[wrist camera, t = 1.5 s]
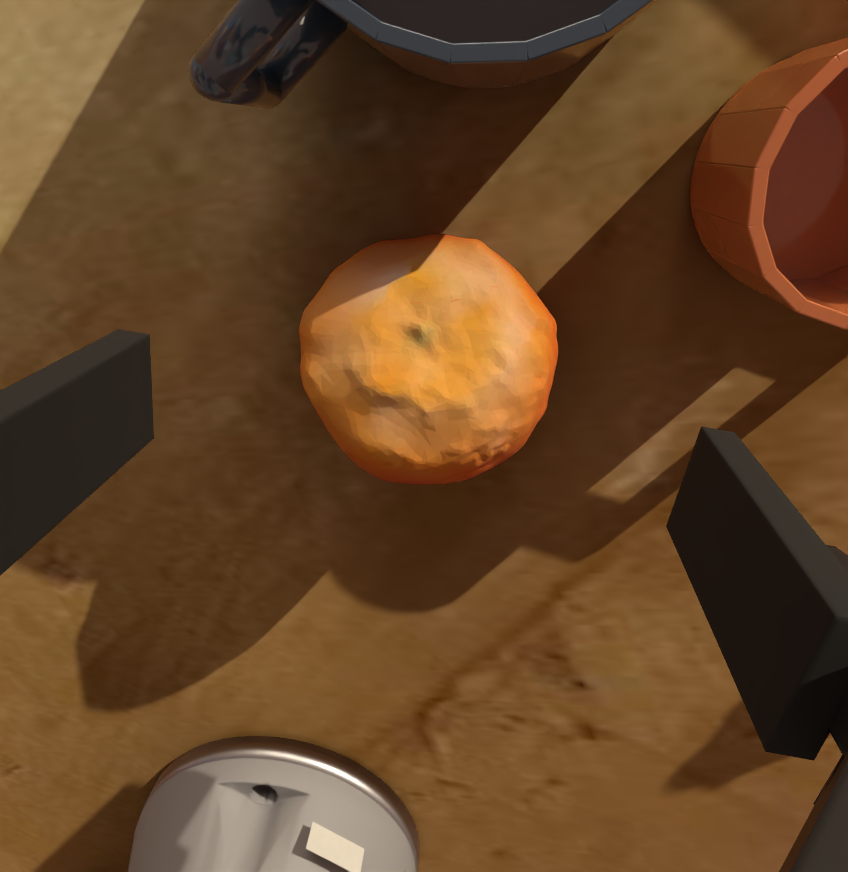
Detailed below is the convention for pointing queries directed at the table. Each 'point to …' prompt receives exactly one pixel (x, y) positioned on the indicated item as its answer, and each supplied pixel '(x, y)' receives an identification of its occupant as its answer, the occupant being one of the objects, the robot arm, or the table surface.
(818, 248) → the small cup
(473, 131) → the table surface
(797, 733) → the robot arm
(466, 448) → the fruit
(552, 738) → the table surface
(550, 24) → the big cup
